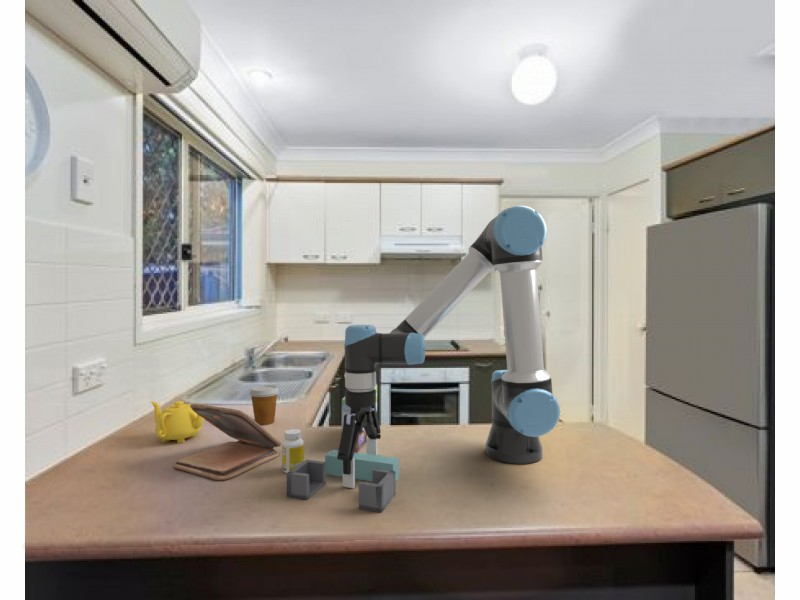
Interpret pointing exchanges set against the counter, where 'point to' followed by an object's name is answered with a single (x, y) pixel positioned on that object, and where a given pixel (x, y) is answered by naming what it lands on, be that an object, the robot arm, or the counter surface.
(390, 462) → the teal rectangular bar
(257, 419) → the disposable coffee cup
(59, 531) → the counter surface
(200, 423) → the teapot
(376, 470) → the end cap near
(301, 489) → the end cap far
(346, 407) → the snack box
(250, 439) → the case
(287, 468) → the supplement bottle
